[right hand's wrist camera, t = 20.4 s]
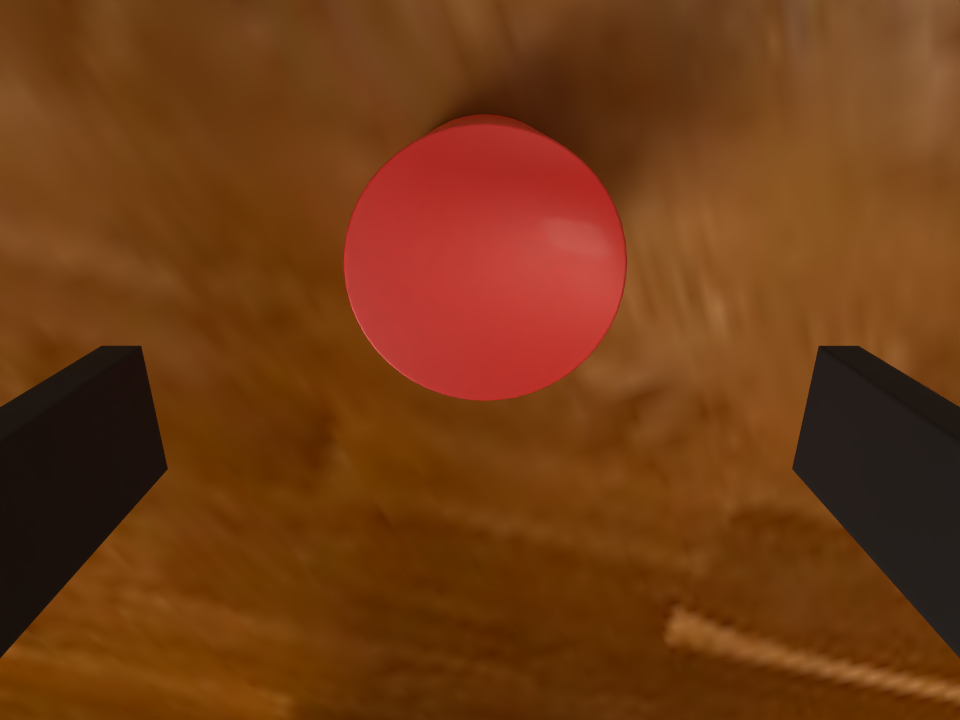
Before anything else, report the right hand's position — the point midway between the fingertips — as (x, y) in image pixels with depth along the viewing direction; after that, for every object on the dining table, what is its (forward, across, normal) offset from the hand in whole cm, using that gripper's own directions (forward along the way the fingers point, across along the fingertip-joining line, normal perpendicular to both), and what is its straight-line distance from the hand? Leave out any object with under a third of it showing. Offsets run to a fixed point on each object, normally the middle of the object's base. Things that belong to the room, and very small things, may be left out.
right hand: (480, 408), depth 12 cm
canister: (+20, 0, -1) cm, 20 cm away
